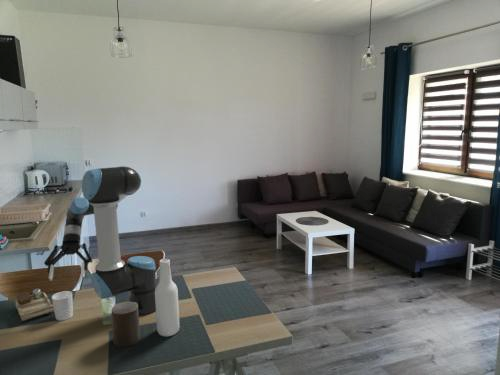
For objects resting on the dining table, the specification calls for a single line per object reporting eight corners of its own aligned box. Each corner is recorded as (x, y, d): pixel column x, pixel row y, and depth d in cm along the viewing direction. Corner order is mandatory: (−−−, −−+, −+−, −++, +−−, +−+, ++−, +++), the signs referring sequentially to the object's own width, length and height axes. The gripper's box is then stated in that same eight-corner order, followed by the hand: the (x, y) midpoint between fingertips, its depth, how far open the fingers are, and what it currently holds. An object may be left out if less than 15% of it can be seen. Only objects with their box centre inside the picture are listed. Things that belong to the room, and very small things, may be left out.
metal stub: (41, 298, 168) (40, 290, 167) (34, 300, 166) (33, 292, 165) (40, 295, 170) (39, 288, 170) (33, 297, 168) (32, 289, 168)
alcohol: (174, 338, 141) (170, 265, 135) (153, 336, 142) (148, 264, 137) (182, 325, 149) (179, 256, 144) (162, 324, 151) (158, 255, 146)
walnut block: (31, 302, 165) (30, 293, 164) (21, 305, 162) (20, 297, 161) (28, 299, 167) (27, 291, 166) (18, 302, 164) (17, 294, 163)
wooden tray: (54, 314, 160) (53, 305, 159) (22, 324, 152) (21, 315, 151) (45, 299, 173) (44, 291, 172) (15, 307, 166) (14, 299, 165)
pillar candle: (125, 350, 134) (122, 313, 131) (108, 342, 139) (105, 306, 136) (145, 337, 142) (143, 302, 139) (128, 330, 147) (126, 295, 144)
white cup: (66, 322, 153) (63, 300, 151) (49, 320, 155) (47, 298, 153) (78, 312, 161) (76, 291, 159) (62, 311, 162) (60, 290, 160)
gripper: (100, 237, 182) (97, 278, 170) (46, 241, 177) (39, 283, 165) (97, 230, 176) (94, 272, 164) (41, 234, 171) (33, 277, 159)
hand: (66, 278), depth 164 cm, fingers open, 13 cm apart
